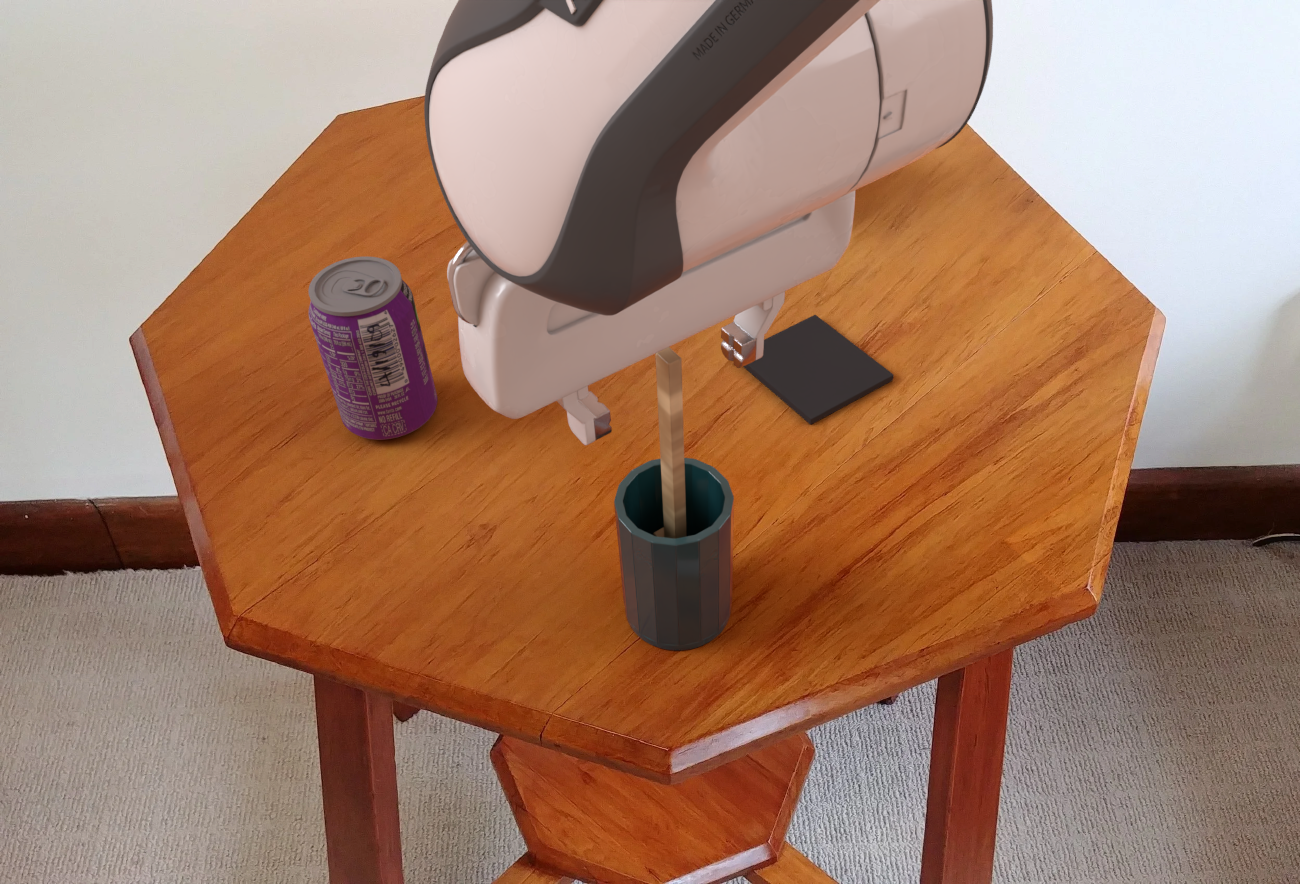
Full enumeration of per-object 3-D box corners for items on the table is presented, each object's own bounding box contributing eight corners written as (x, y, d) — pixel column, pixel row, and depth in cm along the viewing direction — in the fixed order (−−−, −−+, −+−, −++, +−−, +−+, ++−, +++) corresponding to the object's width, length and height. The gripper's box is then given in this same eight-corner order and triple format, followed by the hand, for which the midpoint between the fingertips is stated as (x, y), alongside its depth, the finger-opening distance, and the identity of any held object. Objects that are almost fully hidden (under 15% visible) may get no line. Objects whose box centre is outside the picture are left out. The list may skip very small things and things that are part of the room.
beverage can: (453, 388, 85) (424, 258, 77) (417, 453, 80) (382, 323, 72) (367, 375, 87) (329, 246, 78) (326, 439, 82) (282, 309, 73)
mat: (893, 380, 84) (894, 374, 83) (810, 425, 81) (811, 419, 80) (814, 320, 89) (815, 314, 89) (734, 359, 86) (734, 353, 86)
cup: (752, 616, 69) (757, 508, 62) (664, 669, 67) (658, 563, 60) (690, 549, 73) (687, 440, 66) (605, 597, 71) (592, 489, 63)
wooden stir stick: (700, 615, 69) (695, 369, 54) (687, 622, 68) (680, 376, 54) (668, 579, 71) (656, 333, 56) (656, 586, 70) (641, 340, 56)
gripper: (479, 282, 42) (522, 523, 51) (889, 110, 49) (858, 348, 59) (405, 206, 45) (459, 444, 55) (797, 56, 53) (782, 289, 63)
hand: (668, 393), depth 57 cm, fingers open, 8 cm apart
